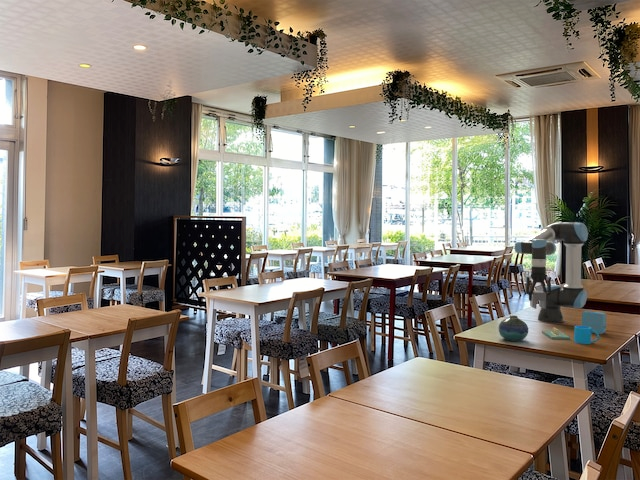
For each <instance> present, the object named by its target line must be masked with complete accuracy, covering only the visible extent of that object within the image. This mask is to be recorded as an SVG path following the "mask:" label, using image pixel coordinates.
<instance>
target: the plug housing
mask: <svg viewBox="0 0 640 480" xmlns="http://www.w3.org/2000/svg"><path fill="white" fill-rule="evenodd" d="M532 295H533V307H532V308H533V309H534V310H536V309H537V302H538V307H540V308H541V307H542V308H544V309H546V293H545V292H543V291H542V290H536V289H534V290H533V293H532Z"/></svg>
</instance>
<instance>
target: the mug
mask: <svg viewBox="0 0 640 480" xmlns="http://www.w3.org/2000/svg"><path fill="white" fill-rule="evenodd" d="M591 331H593V332H595V333H594V334H595V335H596V339H594V340H592V333H591ZM573 334H574V335H573V342H575V343H577V344H582V345H590V344H592V343H596V342H598V341H599V339H600V334H598V333H597V332H596V331H594V330H592V329H591V327H588V326H581V325H574V333H573Z"/></svg>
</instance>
